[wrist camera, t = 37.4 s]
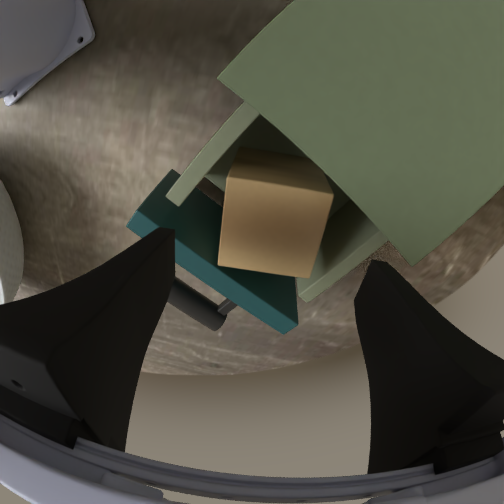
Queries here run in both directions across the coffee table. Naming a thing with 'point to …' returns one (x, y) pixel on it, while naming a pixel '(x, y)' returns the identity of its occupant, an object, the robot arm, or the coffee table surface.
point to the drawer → (209, 229)
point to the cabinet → (388, 105)
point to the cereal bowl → (9, 249)
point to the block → (273, 213)
